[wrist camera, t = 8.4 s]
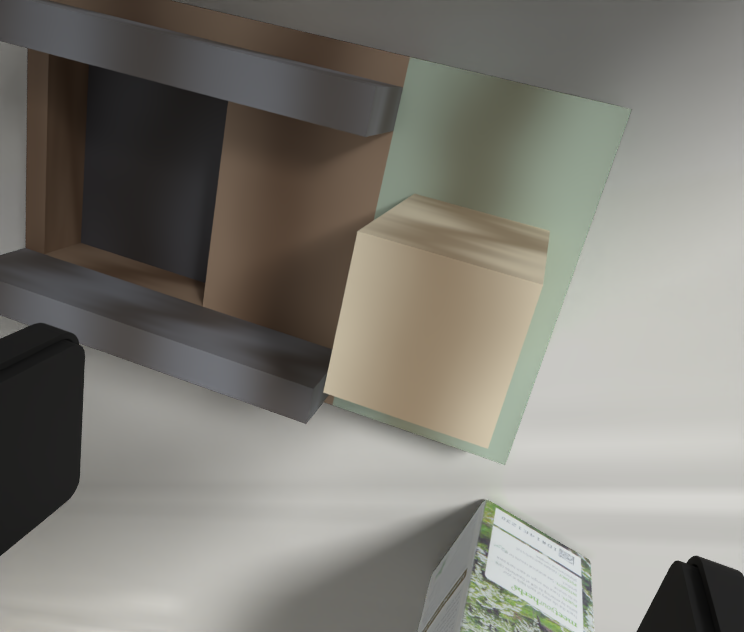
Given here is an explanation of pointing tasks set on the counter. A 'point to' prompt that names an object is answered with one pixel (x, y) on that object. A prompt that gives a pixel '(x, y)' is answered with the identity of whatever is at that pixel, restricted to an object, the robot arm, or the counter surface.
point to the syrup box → (508, 581)
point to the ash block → (437, 315)
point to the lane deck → (266, 189)
